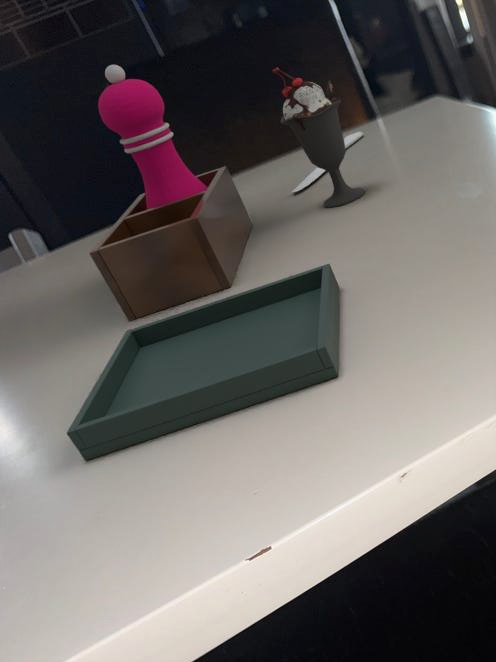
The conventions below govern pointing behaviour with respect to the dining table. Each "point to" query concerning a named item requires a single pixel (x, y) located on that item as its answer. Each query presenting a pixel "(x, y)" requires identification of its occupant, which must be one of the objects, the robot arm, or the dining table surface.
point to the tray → (213, 362)
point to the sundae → (319, 132)
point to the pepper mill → (146, 137)
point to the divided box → (175, 247)
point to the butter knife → (319, 171)
